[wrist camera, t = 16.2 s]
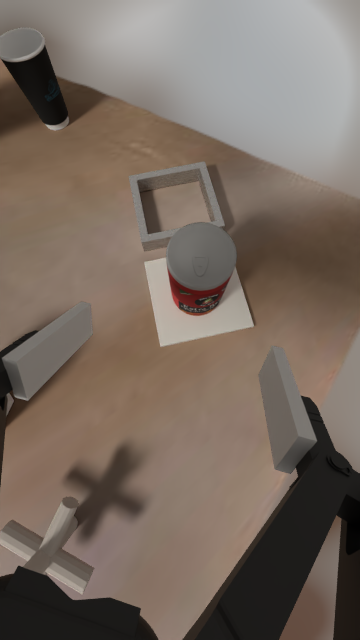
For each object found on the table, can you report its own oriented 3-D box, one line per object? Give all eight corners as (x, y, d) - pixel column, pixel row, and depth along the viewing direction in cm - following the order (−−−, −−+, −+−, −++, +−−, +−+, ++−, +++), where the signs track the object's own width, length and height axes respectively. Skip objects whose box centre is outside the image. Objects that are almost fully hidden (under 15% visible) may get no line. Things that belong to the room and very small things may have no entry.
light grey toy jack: (124, 499, 28) (92, 563, 18) (85, 593, 25) (24, 723, 16) (56, 463, 29) (-8, 504, 19) (13, 549, 27) (-85, 645, 17)
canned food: (178, 322, 33) (174, 295, 22) (166, 275, 35) (158, 229, 24) (228, 311, 33) (247, 278, 23) (213, 264, 35) (225, 214, 25)
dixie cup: (38, 110, 46) (-5, 30, 36) (76, 105, 47) (44, 24, 36) (37, 138, 44) (-9, 62, 34) (77, 133, 44) (43, 55, 34)
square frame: (132, 188, 40) (128, 176, 38) (203, 174, 41) (204, 161, 38) (144, 251, 37) (141, 242, 35) (222, 235, 37) (225, 225, 35)
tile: (144, 263, 36) (144, 262, 36) (227, 246, 37) (228, 244, 36) (160, 347, 33) (160, 346, 32) (252, 327, 33) (254, 326, 33)
